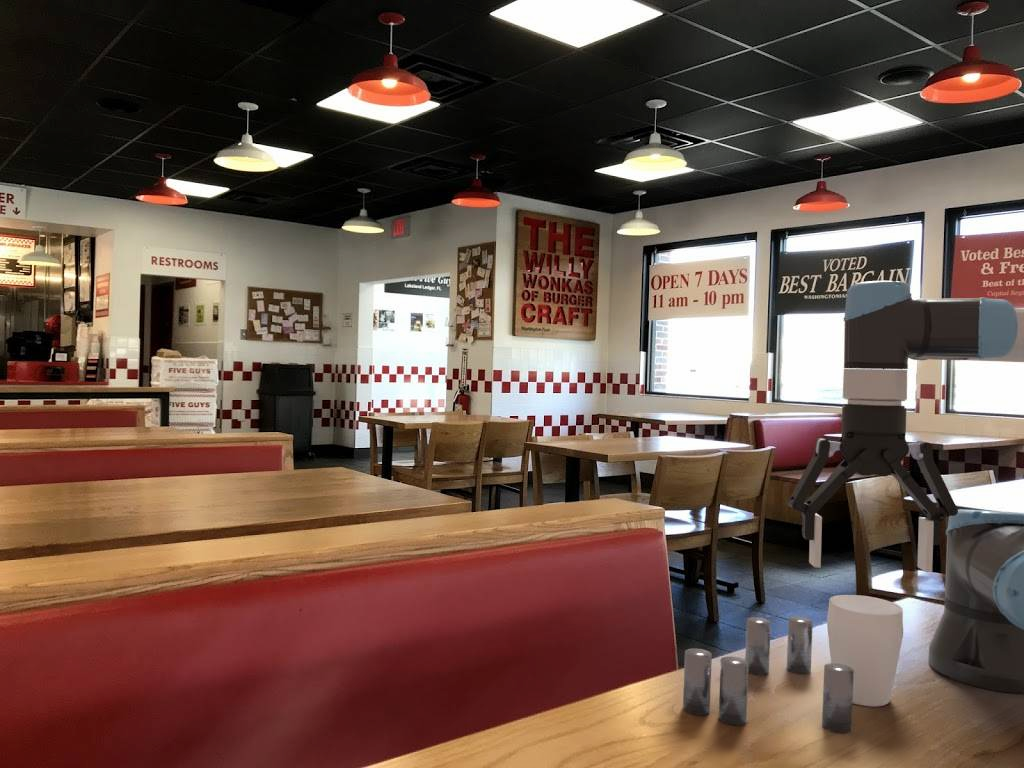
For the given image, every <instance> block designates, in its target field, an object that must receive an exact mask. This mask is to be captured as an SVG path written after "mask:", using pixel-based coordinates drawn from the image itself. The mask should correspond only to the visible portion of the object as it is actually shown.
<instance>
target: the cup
mask: <svg viewBox="0 0 1024 768" xmlns="http://www.w3.org/2000/svg"><path fill="white" fill-rule="evenodd" d="M828 603H829V604H828V609H827V610H828V611H827V617H826V625H827V635H828V636H827V637H828V638H827V639H828V646H829V655H830V663H835V664H842V665H846V666H848V667H850V668H852V669H853V670H854V675H853V700H852V704H854V705H858V706H862V707H874V708H875V707H883V706H886V705H887V704H889V703H890V701H891V698H892V697H891V696H892V691H893V687H894V684H895V683H894V682H895V677H896V672H897V666H898V662H899V658H900V652H901V647H902V642H903V638H904V623H903V622H904V620H903V619H904V618H903V617H904V616H903V615H904V614H903V612H904V611H903V608H902V606H900V605H899V604H897V603H894V602H892V601H890V600H886V599H883V598H878V597H873V596H867V595H860V594H858V595H857V594H840V595H837V594H836V595H833V596H831V597H830V598H829V601H828Z"/></svg>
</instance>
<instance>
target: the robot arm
mask: <svg viewBox="0 0 1024 768" xmlns="http://www.w3.org/2000/svg"><path fill="white" fill-rule="evenodd" d="M1013 305H1014V304H1012V303H1011V302H1010V301H1008V300H1006V299H1004V298H1003V299H1001V298H986V297H984V296H982V297H976V298H974V297H972V298H970V297H968V298H966V297H965V298H964V297H963V298H919V297H913V296H912V293H911V288H910V285H909V284H908V283H907V282H904V281H899V280H898V281H897V280H896V281H893V280H872V281H870V280H869V281H862V282H857V283H854V284H852V285H850V287H848V289H847V292H846V298H845V308H844V309H845V311H844V317H843V322H844V340H843V341H844V345H843V352H844V353H843V376H842V377H843V379H842V381H843V382H842V398H843V399H844V400H846V401H847V403H844V404H843V405H842V406H841V409H842V410H841V437H840V439H839V440H838V441H833V440H828V439H825V438H821V437H819V438H817V439H816V440H815V441H814V442H815V444H814V449H813V455H812V456H811V459H810V460H809V462H808V463H807V466H806V468H805V469H804V471H803V473H802V475H801V477H800V479H799V480H798V482H797V484H796V486H795V488H794V490H793V491H792V493H791V495H790V497H789V498H788V500H787V505H788V506H789V507H790V508H791V509H793V510H794V511H798V512H800V513H801V515H802V522H801V523H802V524H801V526H802V527H801V535H802V537H803V538H804V539H805V541H809V551H808V557H809V558H808V563H809V564H810V565H811V566H813V567H814V568H821V566H822V563H821V562H822V561H821V560H822V531H823V529H822V528H823V525H822V524H823V517H822V516H821V515H820V514H818V512H819V511H820V510H821V509H822V507H823V506H824V505H825V504H826V503H827V502H829V500H830V499H831V498H832V497H833V496H834V495H835V494H836V493H837V492H838V491H839V490H840V488H841V487H842V486H843V485H844V484H845V483H846V482H847V481H848V480H849V479H852V477H854V475H855V474H857V475H860V476H864V477H869V476H873V475H874V476H879V477H888V476H889V475H891V477H893V478H894V479H895V480H896V481H897V482H898V484H900V486H901V487H902V488H903V489H904V490H905V492H906V493H907V494H908V495H909V497H910V498H911V499H912V500H913V501H914V502H915V504H916V505H917V506H918V507H919V509H920V510H921V511H922V512H923V513H924V514H925V516H926V517H922V516H919V517H918V533H917V534H918V536H917V537H918V538H917V539H918V541H917V542H918V543H917V568H918V569H920V570H922V571H923V572H924V573H933V562H934V561H933V558H934V557H933V555H934V553H933V552H934V546H939V545H940V544H941V533H942V531H941V530H942V522H944V521H945V520H946V518H948V523H947V524H948V525H947V528H946V530H945V535H946V553H945V554H946V555H945V558H946V560H945V579H944V580H945V581H944V582H945V584H944V585H945V586H944V607H943V613H942V615H941V617H940V620H939V622H938V625H937V627H936V629H935V632H934V634H933V636H932V638H931V641H930V643H929V647H928V664H929V665H930V667H932V668H933V669H934V670H935V671H937V672H938V673H940V674H942V675H943V676H946V677H947V678H950V679H953V680H954V681H958V682H961V683H963V684H968V685H969V686H974V687H978V688H982V689H987V690H992V691H996V692H997V691H999V692H1002V693H1003V692H1005V693H1015V694H1024V512H1014V511H1013V512H1012V511H1000V510H983V509H982V510H981V509H963V508H962V509H960V508H959V509H958V507H957V505H956V503H955V501H954V499H953V498H952V495H951V493H950V491H949V489H948V487H947V485H946V482H945V481H944V479H943V476H942V475H941V472H940V470H939V469H938V466H937V464H936V463H935V461H934V451H933V445H932V443H930V442H927V441H922V440H917V441H916V442H912V443H908V442H907V440H906V433H907V408H906V407H905V406H904V405H902V402H905V401H907V399H908V369H909V363H908V361H909V359H910V360H915V361H928V360H935V361H936V360H937V361H938V360H939V361H974V362H975V361H977V362H978V361H980V362H981V361H982V362H1007V363H1024V307H1023V308H1019V307H1018V308H1017V307H1016V308H1015V306H1013ZM837 451H838V453H839V454H840V456H841V457H842V459H843V460H842V461H841V462H840V463H839V464H838V465H837V466H836V467H835V470H834V471H833V472H832V473H831V474H830V475H829V477H827V479H825V481H824V482H822V484H821V485H820V486H819V487H818V488H817V489H816V490H815V491H814V492H813V493H812V495H810V493H811V491H812V490H813V488H814V486H815V484H816V482H817V480H818V478H819V477H820V475H821V474H822V471H824V470H823V469H824V468H825V466H826V464H827V462H828V459H829V458H831V457H833V456H834V454H835V452H837ZM908 454H910V455H911V457H912V458H913V459H914V460H916V462H917V465H918V467H919V468H920V472H921V473H922V475H923V477H924V479H925V481H926V484H927V486H928V487H929V490H930V491H931V494H932V495H933V498H934V500H935V503H937V505H936V504H935V503H934V501H932V500H931V498H930V497H929V495H927V494H926V492H925V491H924V490H923V489H922V487H921V486H920V485H919V484H918V482H916V481H915V479H914V478H913V477H912V475H911V473H910V472H909V471H908V469H907V468H906V467H905V465H904V464H903V463H902V462H903V461H904V459H905V458H906V457H907V456H908ZM808 496H810V497H809V498H808Z"/></svg>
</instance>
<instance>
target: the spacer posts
mask: <svg viewBox="0 0 1024 768" xmlns="http://www.w3.org/2000/svg"><path fill="white" fill-rule="evenodd" d="M813 624H814V623H813V620H812V619H809V618H807V617H802V616H791V617H788V623H787V645H786V647H787V649H786V652H787V653H786V670H787V671H788V672H791V673H792V674H796V675H797V674H798V675H808V674H811V672H812V649H813V647H812V646H813V644H812V643H813ZM771 627H772V622H771V621H770V620H769V619H767V618H763V617H758V616H757V617H755V616H753V617H748V618H746V630H745V632H746V633H745V653H744V654H745V657H744V658H745V659H744V658H742V657H739V656H738V657H737V656H724V657H721V658H720V668H719V669H720V670H719V695H718V696H719V697H718V720H719V721H721V723H723V724H727V725H729V726H730V725H731V726H744V725H745V724H746V723H747V712H748V689H749V688H748V687H749V685H748V684H749V674H751V675H755V676H767V675H768V674H770V655H771V653H770V651H771V650H770V649H771ZM712 658H713V655H712V653H711V651H708V650H706V649H703V648H688V649H685V651H684V669H683V670H684V671H683V673H684V674H683V693H682V694H683V699H682V709H683V711H684V712H685V713H687V714H689V715H692V716H693V715H694V716H708V715H709V714H710V711H711V689H712V687H711V686H712V684H711V683H712V682H711V681H712V663H713V662H712V660H713V659H712ZM823 669H824V670H823V687H822V688H823V690H822V691H823V692H822V693H823V694H822V695H823V696H822V714H821V715H822V716H821V717H822V719H821V727H822V728H824V729H825V730H827V731H829V732H832V733H835V734H848V733H851V732H852V723H853V722H852V719H853V703H852V700H853V675H854V670H853V669H852V668H850V667H848V666H846V665H842V664H835V663H831V662H830V663H826V664H824V667H823Z"/></svg>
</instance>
